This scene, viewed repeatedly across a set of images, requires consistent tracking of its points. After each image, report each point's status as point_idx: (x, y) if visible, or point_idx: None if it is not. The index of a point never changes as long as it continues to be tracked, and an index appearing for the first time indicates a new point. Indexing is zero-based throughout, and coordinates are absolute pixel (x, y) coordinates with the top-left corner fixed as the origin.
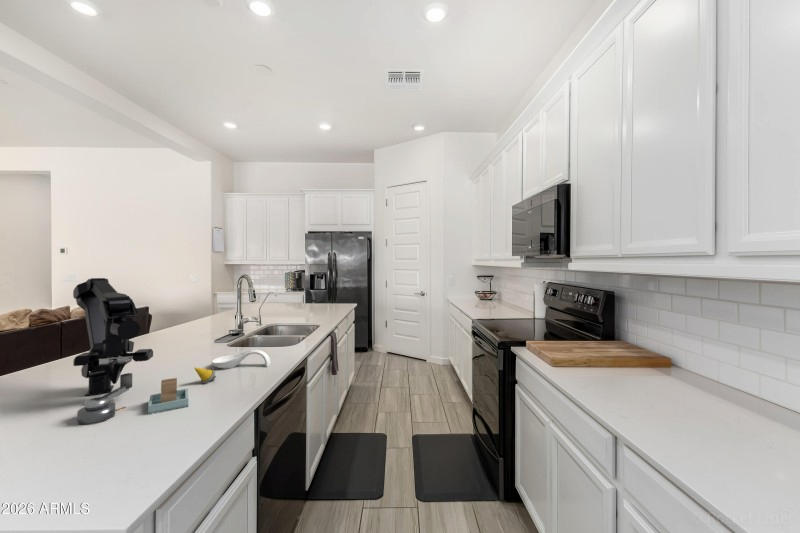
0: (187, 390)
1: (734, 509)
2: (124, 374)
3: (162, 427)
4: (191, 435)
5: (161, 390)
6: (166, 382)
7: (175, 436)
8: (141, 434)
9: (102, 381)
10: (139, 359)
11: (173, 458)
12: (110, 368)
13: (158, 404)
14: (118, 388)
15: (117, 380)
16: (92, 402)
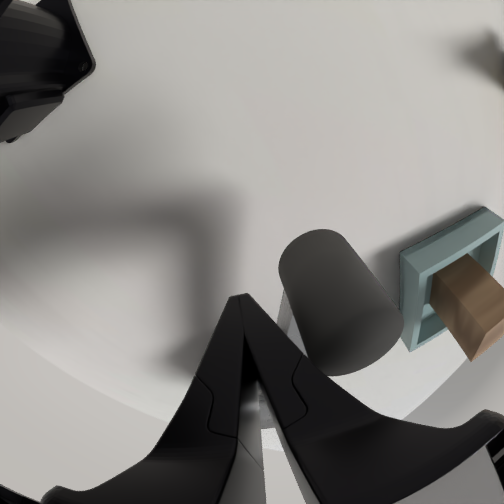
0: (500, 241)
1: None
2: (339, 342)
3: (417, 365)
4: (441, 371)
5: (459, 343)
6: (484, 348)
7: (426, 377)
8: (387, 385)
9: (15, 110)
10: (492, 450)
11: (415, 401)
12: (263, 484)
13: (430, 339)
14: (296, 327)
15: (258, 307)
16: (272, 424)
